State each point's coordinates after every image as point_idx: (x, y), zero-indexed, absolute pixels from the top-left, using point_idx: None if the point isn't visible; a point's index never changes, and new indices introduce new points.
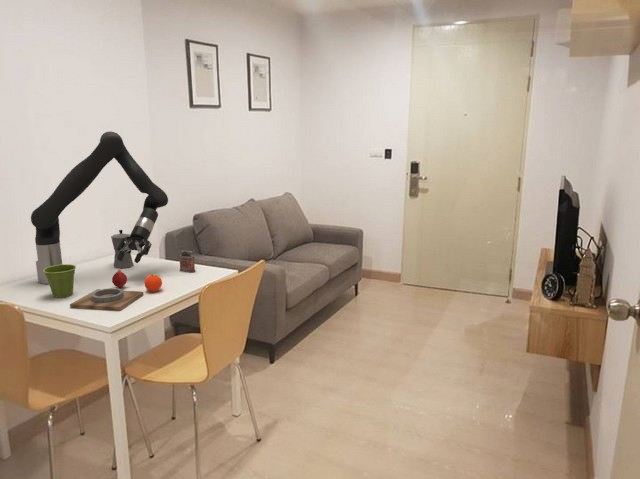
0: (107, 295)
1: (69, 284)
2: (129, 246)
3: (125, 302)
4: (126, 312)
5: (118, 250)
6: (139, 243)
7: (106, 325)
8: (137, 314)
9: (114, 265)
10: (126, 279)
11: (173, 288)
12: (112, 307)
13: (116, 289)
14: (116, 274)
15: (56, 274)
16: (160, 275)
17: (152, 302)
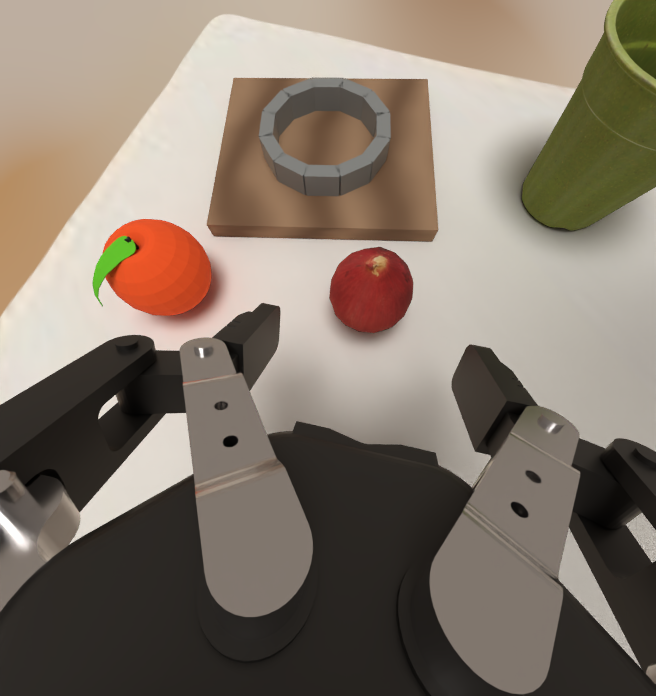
0: None
1: (552, 135)
2: (444, 472)
3: (232, 114)
4: (213, 89)
5: (609, 451)
6: (183, 521)
7: (232, 15)
8: (171, 80)
9: None
10: (330, 295)
11: (100, 337)
12: (262, 81)
13: (309, 166)
14: (379, 248)
15: (643, 2)
16: (94, 276)
17: (152, 171)
